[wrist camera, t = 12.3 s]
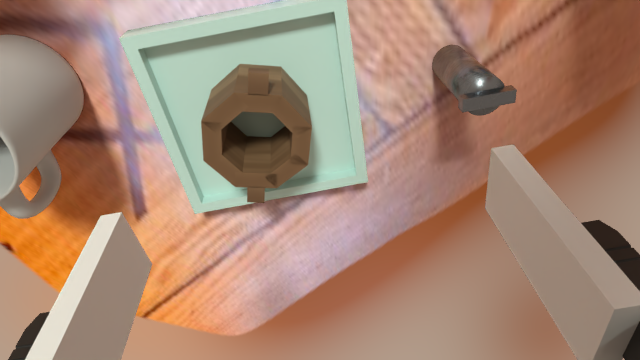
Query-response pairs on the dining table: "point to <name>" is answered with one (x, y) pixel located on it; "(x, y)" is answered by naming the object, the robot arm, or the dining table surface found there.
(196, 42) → the tray
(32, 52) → the mug
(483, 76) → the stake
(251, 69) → the brown hollow ring piece
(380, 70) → the dining table surface
